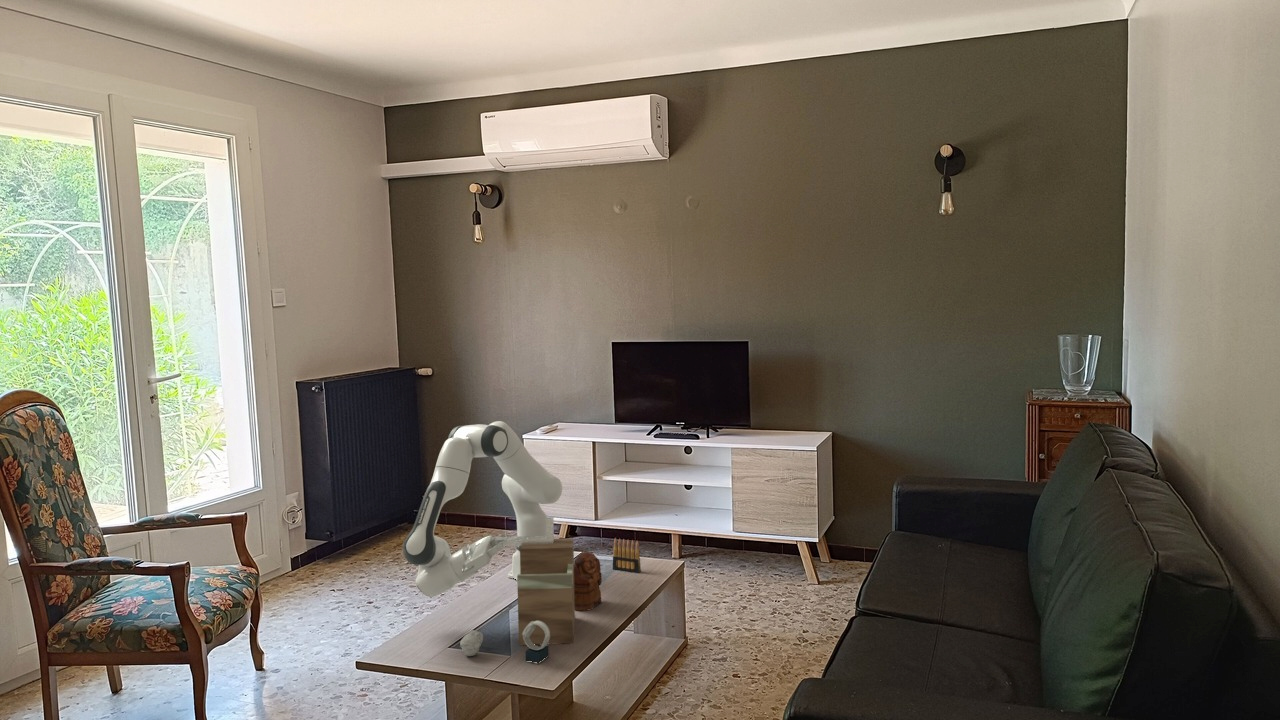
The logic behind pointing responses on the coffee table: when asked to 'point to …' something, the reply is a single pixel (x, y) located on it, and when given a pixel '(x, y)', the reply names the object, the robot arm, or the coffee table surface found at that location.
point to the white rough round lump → (471, 643)
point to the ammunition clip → (626, 557)
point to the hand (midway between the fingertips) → (504, 540)
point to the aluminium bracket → (530, 537)
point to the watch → (537, 650)
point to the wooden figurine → (587, 581)
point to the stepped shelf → (547, 591)
